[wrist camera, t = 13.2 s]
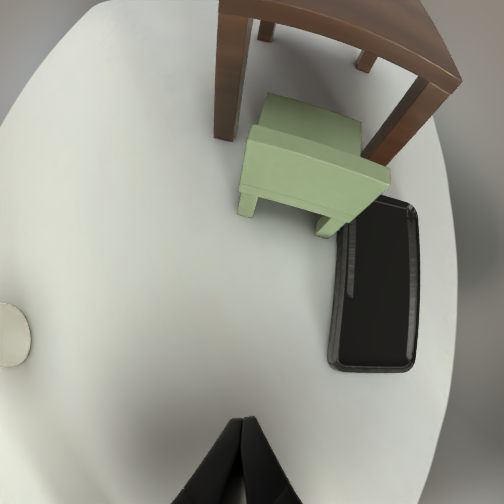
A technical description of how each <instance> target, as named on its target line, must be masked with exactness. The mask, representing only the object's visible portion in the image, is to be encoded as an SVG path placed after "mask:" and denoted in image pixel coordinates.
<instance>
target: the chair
mask: <svg viewBox="0 0 504 504" xmlns="http://www.w3.org/2000/svg"><path fill="white" fill-rule="evenodd" d="M360 150H361V122H360V121H357V120H354V119H352V118H349V117H346V116H343V115H341V114H338V113H335V112H332V111H329V110H326V109H323V108H320V107H317V106H314V105H311V104H307V103H304V102H301V101H297V100H294V99H290V98H287V97H283V96H279V95H276V94H272V93H268V94H267V97H266V100H265V103H264V106H263V109H262V112H261V115H260V118H259V122H258V125H255V124H252V126H251V129H250V132H249V135H248V138H247V143H246V149H245V155H244V160H243V166H242V172H241V178H240V184H239V190H238V191H239V192H241V196H240V201H239V207H238V212H237V214H238V215H242V216H246V217H250V218H252V216H253V213H254V210H255V206H256V203H257V200H258V197H261V198H265V199H268V200H272V201H276V202H279V203H283V204H287V205H290V206H294V207H297V208H301V209H304V210H308V211H311V212H314V213H318V214H321V215H323V216H322V217H321V218H320V219H319V220H318V222H317V224H316V230H315V235H316V236H319V237H323V238H326V239H328V238H330V237H331V236H332V235H333V234H334V233H335V232H336V231H337V230H339V229H340V228H341V227H342V226H343V225H344V224H345V223H346V222H347V223H350V222H351V221H352V220H353V219H354V218H355V217H356V216H357V215H359V214H360V213H361V212H362V211H363V210H364V209H365V208H366V207H367V206H369V205H370V204H371V203H372V202H373V201H374V200H375V199H376V198H377V197H378V196H379V195H381V194H382V193H383V192H384V191H385V190H386V189H387V188H388V187H389V186H390V168H387V167H385V166H382V165H380V164H377V163H375V162H372V161H370V160H367V159H364V158H362V157H360Z"/></svg>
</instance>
